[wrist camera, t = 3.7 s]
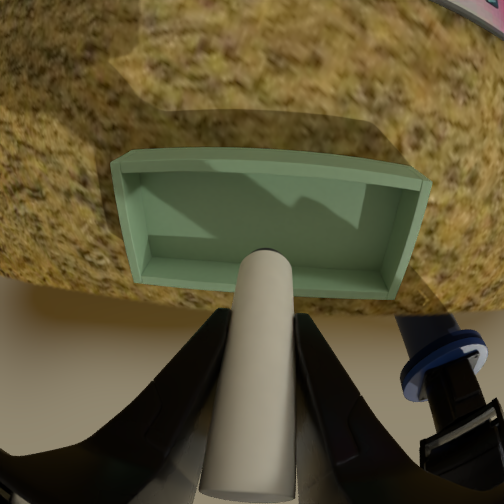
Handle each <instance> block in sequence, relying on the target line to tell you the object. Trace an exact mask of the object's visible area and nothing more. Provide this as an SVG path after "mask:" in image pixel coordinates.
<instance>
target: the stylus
mask: <svg viewBox="0 0 504 504" xmlns="http://www.w3.org/2000/svg"><path fill="white" fill-rule="evenodd" d="M296 439H297V408H296V356H295V330H294V300H293V280H292V268H291V265H290V263H289V262H288V260H287V259H286V258H285V257H284V256H283V255H282V254H281V253H280V252H279V251H277V250H275V249H272V248H259V249H256V250H254V251H253V252H251V253H250V254H249V255H248V256H246V257H245V258H244V259H243V261H242V262H241V264H240V267H239V272H238V277H237V282H236V288H235V293H234V298H233V303H232V308H231V317H230V322H229V328H228V333H227V338H226V344H225V348H224V353H223V357H222V362H221V367H220V372H219V378H218V383H217V389H216V394H215V399H214V405H213V410H212V416H211V422H210V427H209V433H208V438H207V444H206V450H205V455H204V461H203V467H202V472H201V479H200V484H199V492H201V493H202V494H204V495H207V496H210V497H214V498H219V499H224V500H230V501H238V502H249V503H278V502H286V501H290V500H293V499H295V491H296Z"/></svg>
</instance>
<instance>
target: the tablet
mask: <svg viewBox="0 0 504 504" xmlns="http://www.w3.org/2000/svg"><path fill="white" fill-rule="evenodd" d="M430 1H432V2H435V3H437V4H439V5H441V6H443V7H446V8H448V9H450V10H452V11H454V12H456V13H458V14H460V15H461V16H463V17H465V18H467V19H469V20H471V21H472V22H474V23H476V24H478V25H479V26H481V27H483V28H484V29H486V30H488V31H489V32H491V33H492V34H494V35H496V36H497V37H499V38H500V39H502V40H503V41H504V0H430Z"/></svg>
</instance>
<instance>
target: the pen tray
mask: <svg viewBox="0 0 504 504" xmlns="http://www.w3.org/2000/svg"><path fill="white" fill-rule="evenodd" d="M110 167H111V174H112V180H113V187H114V193H115V199H116V205H117V210H118V215H119V220H120V225H121V230H122V235H123V240H124V244H125V248H126V253H127V257H128V261H129V265H130V269H131V273H132V277H133V281H134V283H143V284H150V285H159V286H169V287H179V288H189V289H200V290H211V291H223V292H235V288H236V282H237V277H238V272H239V267H240V264H241V262H242V261H243V259H244V258H245V257H246V256H248V255H249V254H250V253H251V252H253V251H254V250H256V249H259V248H272V249H275V250H277V251H279V252H280V253H281V254H282V255H283V256H284V257H285V258H286V259H287V260H288V262H289V263H290V265H291V268H292V280H293V296H298V297H318V298H343V299H378V300H385V299H386V300H394V299H395V297H396V294H397V292H398V289H399V287H400V284H401V282H402V279H403V277H404V274H405V271H406V268H407V266H408V263H409V260H410V257H411V254H412V251H413V248H414V245H415V242H416V239H417V236H418V233H419V230H420V226H421V223H422V220H423V216H424V213H425V209H426V205H427V202H428V198H429V194H430V190H431V186H432V181H431V180H429V179H428V178H427V177H425V176H424V175H423V174H421V173H420V172H419V171H417V170H416V169H414V168H413V167H412V166H407V165H401V164H396V163H390V162H384V161H378V160H372V159H365V158H358V157H351V156H343V155H335V154H326V153H316V152H306V151H294V150H280V149H262V148H235V147H182V148H155V149H138V150H131V151H130V152H128V153H126V154H124V155H123V156H121V157H119V158H117V159H115V160H114V161H112V162H110Z"/></svg>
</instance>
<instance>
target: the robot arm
mask: <svg viewBox="0 0 504 504" xmlns="http://www.w3.org/2000/svg"><path fill="white" fill-rule="evenodd" d="M230 317H231V310H230V309H228V308H218V309H216V310H215V312H214V313H213V314H212V315H211V316H210V317H209V318H208V319H207V321H206V322H205V323H204V324H203V325H202V326H201V327H200V328H199V329H198V331H197V332H196V333H195V334H194V335H193V336H192V337H191V338H190V340H189V341H188V342H187V343H186V344H185V345H184V346H183V347H182V348H181V350H180V351H179V352H178V353H177V354H176V355H175V356H174V357H173V359H171V361H170V362H169V363H168V364H167V365H166V366H165V367H164V368H163V369H162V371H161V372H160V373H159V374H158V375H157V376H156V377H155V378H154V381H151V382H150V384H149V385H148V386H147V387H146V388H145V389H144V390H143V391H142V392H141V393H140V394H139V395H138V397H136V398H135V399H134V400H133V401H132V402H131V403H130V404H129V405H128V406H127V407H125V409H123V410H122V411H121V412H120V413H119V414H117V415H116V416H115V417H114V418H113V419H111V420H110V421H109V422H108V423H107V424H105V425H104V426H103V427H102V428H100V429H99V430H98V431H97V432H96V433H94V434H93V435H92V436H90V437H89V438H87V439H86V440H84V441H82V442H80V443H78V444H75V445H71V446H68V447H63V448H59V449H55V450H50V451H46V452H41V453H36V454H31V455H25V456H11V455H10V454H8V453H7V452H5V451H4V450H2V449H0V504H193V500H194V496H195V493H196V489H197V488H196V487H197V485H198V481H199V477H200V474H201V470H202V466H203V461H204V455H205V450H206V444H207V438H208V433H209V427H210V422H211V416H212V410H213V405H214V399H215V394H216V389H217V383H218V378H219V372H220V367H221V362H222V357H223V353H224V348H225V344H226V338H227V333H228V328H229V322H230ZM294 330H295V356H296V408H297V439H296V465H297V479H298V494H299V496H298V497H299V504H504V413H503V410H502V407H501V405H500V403H499V401H498V399H497V398H495V399H493V400H492V402H490V403H489V404H487V405H486V402H485V400H484V397H483V394H482V391H481V389H480V386H479V383H478V381H477V378H476V376H475V373H474V371H473V370H474V368H475V365H476V363H477V361H478V358H479V356H480V353H479V351H475V352H473V353H470V354H468V355H465V356H463V357H460V358H458V359H455V360H453V361H450V362H448V363H445V364H442V365H439V366H437V367H434V368H431V369H428V370H427V371H426V372H425V373H424V377H423V381H422V385H421V388H420V392H419V396H418V399H419V401H423V400H426V399H428V402H429V405H430V409H431V412H432V417H433V420H434V425H435V429H436V433H437V434H435V435H433V436H431V437H429V438H427V439H423V440H421V441H420V450H419V451H420V467H419V466H418V465H417V464H415V463H414V462H413V461H412V460H411V459H410V457H409V456H408V455H407V454H406V453H405V452H404V450H403V449H402V448H401V447H400V446H399V444H398V443H397V442H396V441H395V440H394V439H393V437H392V436H391V435H390V434H389V433H388V431H387V430H386V429H385V428H384V426H383V425H382V424H381V423H380V421H379V420H378V419H377V418H376V416H375V415H374V413H373V412H372V410H371V409H370V407H369V406H368V404H367V403H366V401H365V400H364V398H363V397H362V396H360V392H359V391H358V389H357V387H356V386H355V385H354V383H353V381H352V380H351V378H350V377H349V375H348V374H347V372H346V370H345V369H344V368H343V366H342V365H341V363H340V361H339V360H338V358H337V357H336V355H335V354H334V352H333V351H332V349H331V348H330V346H329V344H328V343H327V342H326V340H325V338H324V337H323V335H322V334H321V332H320V331H319V329H318V328H317V326H316V325H315V323H314V322H313V320H312V319H311V317H310V316H309V314H306V313H296V314H295V316H294ZM495 415H497V418H496V419H494V420H493V421H492V420H491V418H492V417H494V416H495Z"/></svg>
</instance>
